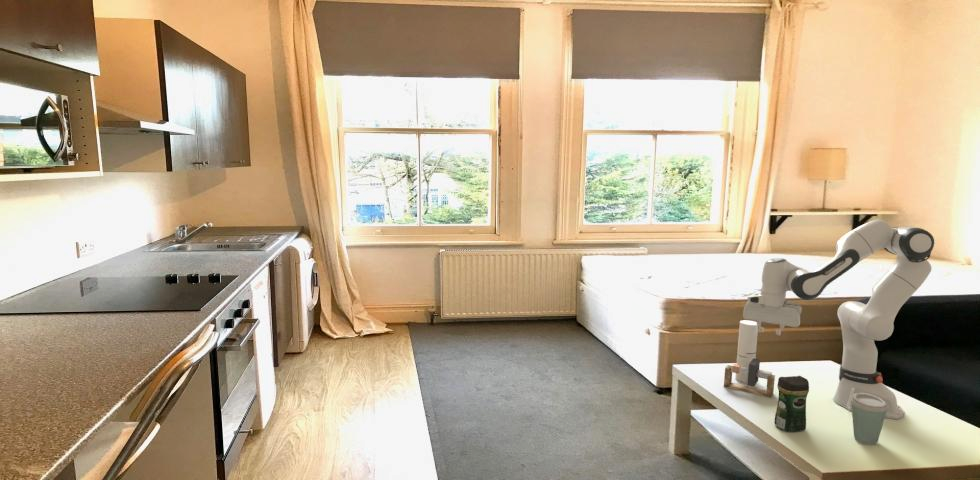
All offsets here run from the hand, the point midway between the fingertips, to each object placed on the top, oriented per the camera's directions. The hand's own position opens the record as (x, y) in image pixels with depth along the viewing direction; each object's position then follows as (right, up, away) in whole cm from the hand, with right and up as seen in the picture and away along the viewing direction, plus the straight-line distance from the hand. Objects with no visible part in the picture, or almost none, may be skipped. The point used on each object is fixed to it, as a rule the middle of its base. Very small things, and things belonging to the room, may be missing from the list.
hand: (769, 333), depth 225 cm
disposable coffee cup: (+16, -31, -34) cm, 48 cm away
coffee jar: (-5, -29, -25) cm, 39 cm away
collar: (-4, -21, +6) cm, 22 cm away
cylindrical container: (-1, -23, +19) cm, 30 cm away
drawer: (-5, -24, +7) cm, 26 cm away
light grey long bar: (-5, -18, +6) cm, 19 cm away
